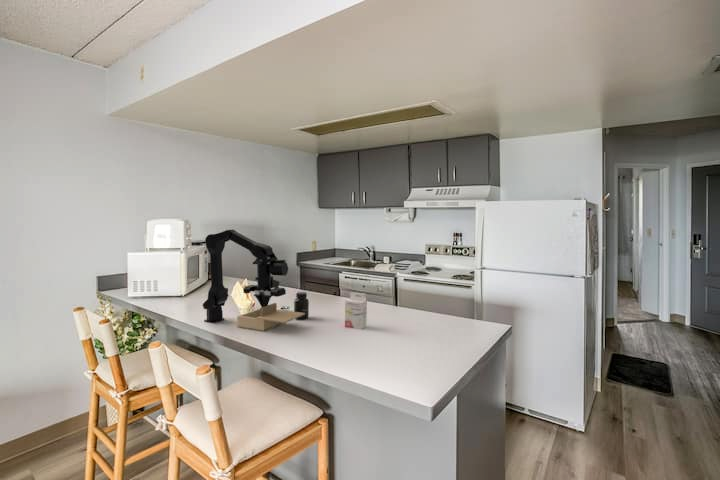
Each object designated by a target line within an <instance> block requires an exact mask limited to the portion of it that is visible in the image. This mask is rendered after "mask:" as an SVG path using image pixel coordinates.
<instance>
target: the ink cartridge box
mask: <svg viewBox="0 0 720 480" xmlns="http://www.w3.org/2000/svg"><path fill="white" fill-rule="evenodd" d="M367 304H368V301H367V294H366V293H362V292H353V291H350V292H349V298H348V299H346V300H345V301H344V327H345V328H351V329H357V330H363V329H365V328H366V327H367V323H368V321H367V320H368V319H367V317H368V316H367V315H368V314H367V312H368V310H367V309H368V305H367Z"/></svg>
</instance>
